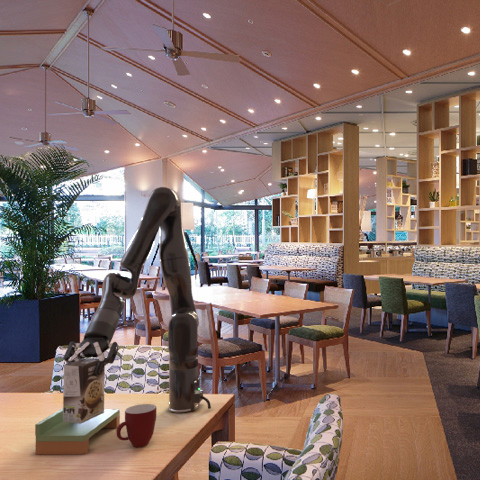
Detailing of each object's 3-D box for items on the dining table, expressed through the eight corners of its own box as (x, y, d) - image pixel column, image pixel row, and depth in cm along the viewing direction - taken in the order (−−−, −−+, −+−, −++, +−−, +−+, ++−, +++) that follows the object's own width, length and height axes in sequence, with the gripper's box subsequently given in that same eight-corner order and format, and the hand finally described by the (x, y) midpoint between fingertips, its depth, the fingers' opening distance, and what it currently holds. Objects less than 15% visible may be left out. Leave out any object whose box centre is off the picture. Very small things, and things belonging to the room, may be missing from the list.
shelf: (119, 425, 150) (119, 399, 150) (84, 454, 130) (85, 424, 130) (76, 425, 150) (76, 399, 150) (35, 454, 130) (35, 424, 130)
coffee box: (81, 424, 135) (82, 366, 135) (62, 422, 136) (62, 364, 136) (105, 412, 144) (105, 358, 144) (86, 410, 145) (86, 356, 145)
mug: (127, 456, 129) (127, 418, 129) (110, 449, 133) (110, 412, 133) (162, 442, 138) (162, 407, 138) (145, 436, 142) (145, 402, 142)
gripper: (74, 319, 147) (50, 368, 136) (122, 320, 148) (102, 368, 136) (83, 333, 153) (61, 381, 141) (129, 334, 153) (111, 381, 141)
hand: (82, 375), depth 139 cm, fingers closed on coffee box, 7 cm apart
